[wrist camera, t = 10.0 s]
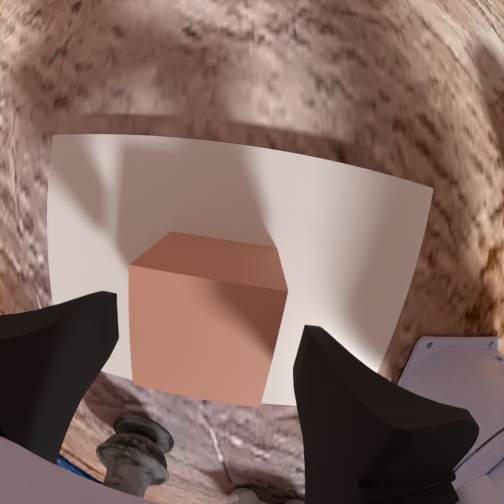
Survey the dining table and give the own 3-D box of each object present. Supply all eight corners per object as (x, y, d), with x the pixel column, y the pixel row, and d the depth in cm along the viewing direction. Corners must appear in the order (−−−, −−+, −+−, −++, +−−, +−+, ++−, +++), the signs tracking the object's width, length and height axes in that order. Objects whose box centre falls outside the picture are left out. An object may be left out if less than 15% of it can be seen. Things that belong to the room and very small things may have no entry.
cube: (277, 248, 14) (288, 291, 9) (258, 340, 15) (259, 407, 10) (170, 231, 14) (128, 264, 9) (164, 324, 15) (133, 384, 10)
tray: (419, 186, 14) (433, 188, 13) (355, 392, 18) (360, 406, 17) (67, 136, 14) (53, 134, 12) (72, 346, 17) (62, 358, 16)
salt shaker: (104, 404, 19) (44, 522, 7) (175, 421, 19) (139, 560, 7) (116, 445, 20) (75, 547, 9) (178, 460, 21) (154, 573, 9)
